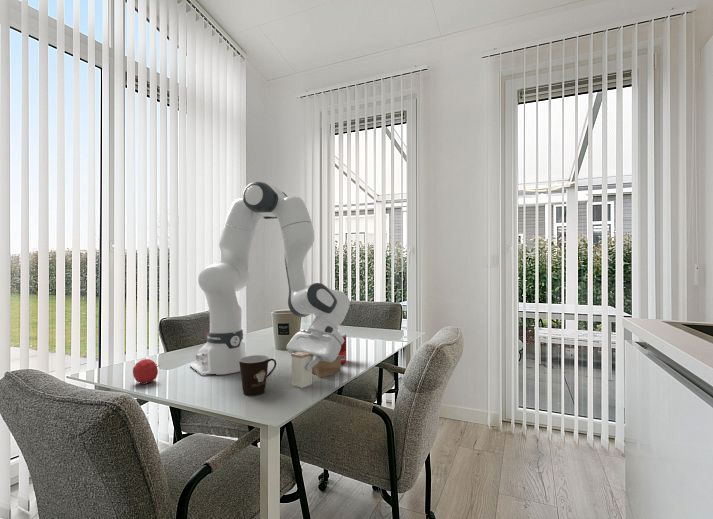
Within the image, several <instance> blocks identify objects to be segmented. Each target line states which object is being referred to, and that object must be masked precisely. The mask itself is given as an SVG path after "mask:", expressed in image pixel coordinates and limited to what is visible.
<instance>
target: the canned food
mask: <svg viewBox="0 0 713 519" xmlns="http://www.w3.org/2000/svg"><path fill="white" fill-rule="evenodd" d="M339 333H340V335H341V336H342V337H343V339H344V343H343V344H342V345H341V350H340V352H339V354H338V355H340V356H341V365H344V364H346V362H347V334H346V333H345V332H339Z"/></svg>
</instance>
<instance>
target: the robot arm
mask: <svg viewBox="0 0 713 519" xmlns="http://www.w3.org/2000/svg"><path fill="white" fill-rule="evenodd" d="M309 213H310V212H309V211H308V207H307V206H306V204H305V202H304V200H303V199H302V198H301V197H300V196H296V195H290V196H288V195H287V194H286V193H285V192H284V191H281V190H280V189H279V188H278V187H275V186H273V185H269V184H267V183H265V182H262V181H253V182H250V183H248V185H246V186H245V188H244V189H243V192H242V198H241V197H240V198H236V199H235V200H234V201H233V202H232V203H231V206H230V207H229V210H228V212H227V214H226V218H225V221H224V224H223V228H222V231H221V233H220V234H221V235H220V238H219V242H218V246H219V249H220V262H219V263H213V264H210V265H208V266H206V267H204V268H203V269H202V270H201V271H200V272H199V275H198V285H199V288H200V289H201V290H202V291H203V293H204V295H205V299H206V301H207V305H208V311H209V332H208V333H207V334H206V341H207V342H205V344H203V346H202V347H200V348H199V349H198V350H197V352H196V356H195V359H196V362H193V363H190V364H189V367H190V366H191V367H192V368H194V369H195V370H196V371H198V372H199V373H201V374H203V375H202V376H205V375H204V374H216V375H221V376H222V375H229V374H234V373H235V374H236V373H240V364H239V359H241V358H243V357H247V354H246V353H247V352H246V344H245V342H243V340H244V330H243V328H242V326H243V324H242V323H243V322H242V317H243V316H242V315H243V314H242V308H241V306H240V304H239V301H238V297H237V294H236V292H239V291H241V290H243V289H244V288H245V287H246V286H247V285H248V283H249V282H250V272H249V261H250V260H249V258H250V251H251V247H252V243H253V240H254V237H255V233H256V228H257V225H258V223H259V220H261V219H262V218H263V219H266V220H270V219H271V220H272V219H277V220H278V223H279V226H280V231H281V235H282V240H283V247H284V265H285V270H286V272H285V273H286V278H287V284H288V298H287V299H288V300H287V305H288V309H289V310H290V312H291V313H292V314H293V315H294V316H295V317H298V318H305V317H308V316H310V315H311V314H312V315H314V316H315V318H314V319H313V321H312V322H311V324H310V325H309V328H308V329H301V330H300V331H298V332H296V333H295V334H294V335H293V336H292V338H291V339H290V341H289V342H288V343H287V344H286V350H287V351H288V352H289V353H290V355H291V354H292V353H296V352H299V351H302V352H307V353H311V355H312V359H313V360H311V361H310V362H309V363H306V366H305V369H306V370H308V371H311V369H312V367H313V366H315V365H316V364H317V363H318V362H319V361H320V360H322V361H326V362H333V361H334V360H335V359H336V358H337V356H338V354H339V352H340V350H341V345H342V344H343V343H344V339H343V337H342V336H341V335H340V333H341V332H340V331H339V330H338V329H339V326H340V325H341V324H342V323H343V321H344V319H346V316H347V315H348V314H347V313H348V312H349V309H350V304H351V301H350V298H349V297H348V295H347V293H345V292H344V291H341V290H338V289H337V290H336V289H332V288H329V287H327V286H326V285H325V284H323V283H320V282H315V283H311V284H309V285H307V284H306V276H305V272H304V262H305V259H306V257H307V254H308V253H309V251H310V250H311V248H312V247H313V245H314V242H315V230H314V227H313V222H312V219H311V216H310V214H309ZM192 368H191V369H192ZM195 370H194V371H195ZM196 371H195V372H196ZM198 372H197V373H198ZM199 373H198V374H199Z"/></svg>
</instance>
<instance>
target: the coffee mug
mask: <svg viewBox="0 0 713 519" xmlns="http://www.w3.org/2000/svg"><path fill="white" fill-rule="evenodd" d="M271 361H273V363H274V365H273V367H272V369H271V371H269V373H268V370H269V369H268V367H269V363H270V362H271ZM239 364H240V371H239V373H240V377H241V378H240V379H241V386H242V387H241V388H242V393H243V395H244V396H245V397H257V396H260V395H263V394H264V393H265V392H266V386H267V379H268V378H269V377H270V375H271V374H273V373H274V370H275V369H276V367H277V360H276V359H275V358H269V356H267V355H263V354H262V355H259V354H256V355H255V354H254V355H246V357H243V358H241V359H239Z"/></svg>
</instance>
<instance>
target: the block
mask: <svg viewBox="0 0 713 519" xmlns="http://www.w3.org/2000/svg"><path fill="white" fill-rule="evenodd" d="M312 360H313V359H312ZM341 367H342V364H341V356H340V355H338V356H337V358H336V359H335V360H334V361H333V362H326V361H322V360H320V361H319V362H318V363H317V364H316V365H315V366H313V367H312V376H315V375H316V376H315V377H317V376H318V378H322V376H323V377H326V375H327V376H330V374H331V375H334V373H335V374H339V373H341V370H342V368H341Z"/></svg>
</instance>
